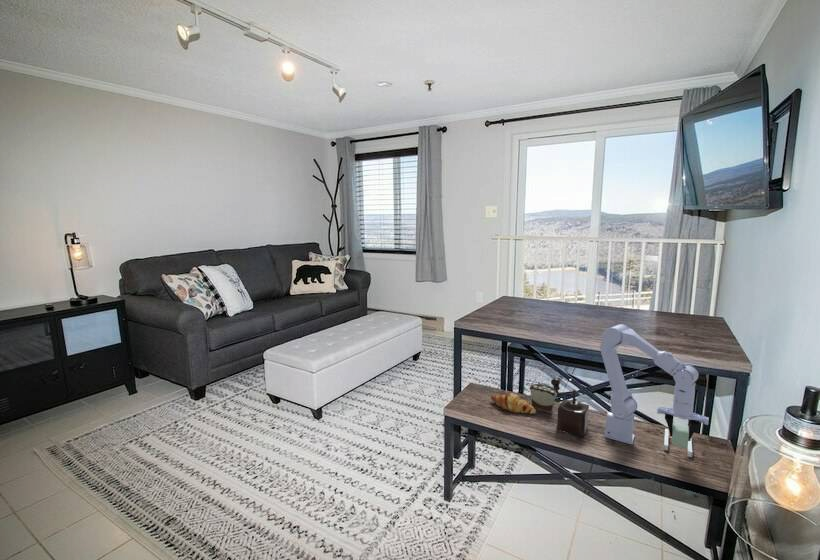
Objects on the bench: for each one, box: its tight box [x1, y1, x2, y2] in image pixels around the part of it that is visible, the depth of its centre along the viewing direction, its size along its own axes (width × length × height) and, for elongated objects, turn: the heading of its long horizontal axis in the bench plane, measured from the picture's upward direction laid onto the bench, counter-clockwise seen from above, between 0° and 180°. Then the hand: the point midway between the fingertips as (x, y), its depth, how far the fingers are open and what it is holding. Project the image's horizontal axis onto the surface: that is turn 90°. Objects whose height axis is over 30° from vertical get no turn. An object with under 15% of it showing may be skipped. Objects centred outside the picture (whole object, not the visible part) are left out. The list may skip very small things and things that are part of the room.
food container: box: [528, 383, 558, 414], centre depth 175 cm, size 12×6×10 cm, turn 48°
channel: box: [663, 428, 693, 458], centre depth 146 cm, size 8×14×2 cm, turn 146°
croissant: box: [490, 392, 537, 415], centre depth 175 cm, size 21×10×8 cm, turn 54°
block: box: [671, 421, 689, 449], centre depth 135 cm, size 4×7×5 cm, turn 146°
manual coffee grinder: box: [550, 378, 590, 438], centre depth 158 cm, size 16×11×18 cm
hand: (679, 437), depth 135 cm, fingers closed on block, 4 cm apart
